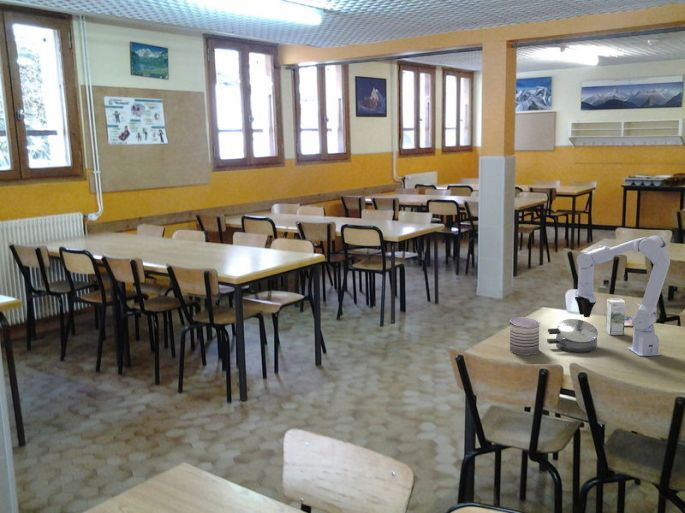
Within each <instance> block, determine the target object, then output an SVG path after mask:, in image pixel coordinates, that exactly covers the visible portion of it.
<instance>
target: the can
mask: <svg viewBox="0 0 685 513" xmlns="http://www.w3.org/2000/svg"><path fill="white" fill-rule="evenodd" d="M508 322H509V324H510V326H509V351H510V352H511V351H512V352H511V353H513V352H514V353H513V354H515V353H517V354H516V355H520V354H523V355H522V356H531V355H530V354H534V355H536V354H538V352H540V351H539V350H540V348H539V347H540V325H541V322H540V321H538V320H536V319H535V318H531V317H525V316H516V317H510V319H509V320H508ZM535 353H536V354H535Z"/></svg>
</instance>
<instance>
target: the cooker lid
mask: <svg viewBox="0 0 685 513" xmlns="http://www.w3.org/2000/svg"><path fill="white" fill-rule="evenodd" d="M547 332H548V334H549V335H557V334H560V335H561V336H562V337H564V338H565V339H567V340H570V341H573V342H578V343H588V342H592V341H594V340H595V339H596V338H597V339H598V336H599V335H598V334H599V332H598V330H597V327H595V326H594V325H593V324H592V323H590V322H587V321H586V320H581V319H577V318H567V319H563V320H561V321H559V322H558V323H557V326H556V327H555V328H547Z"/></svg>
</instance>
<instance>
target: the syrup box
mask: <svg viewBox="0 0 685 513" xmlns="http://www.w3.org/2000/svg"><path fill="white" fill-rule="evenodd" d="M625 315H626V301H625V300H624V299H623V298H607V300H606V315H605V316H606V317H605V318H606V319H605V320H606V321H605V332H606V333H607V334H608V335H609V336H624V335H625V327H624V322H625V317H626V316H625Z"/></svg>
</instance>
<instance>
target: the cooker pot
mask: <svg viewBox="0 0 685 513" xmlns="http://www.w3.org/2000/svg"><path fill="white" fill-rule="evenodd" d="M555 335H556V336H555V337H556V338H547V339H546V342H547V343H548V344H549V345H551V344H553V345H554V344H555V347H556V348H557V349H559V350H560V349H561V350H560V351H563V352H567V353H573V354H590V353H593V352H595V351H597V348H598V337H597V338H596V339H595V340H594V341H592V342H588V343H578V342H573V341H570V340H567V339H565V338H564V337H562V336H561V335H560V334H555Z"/></svg>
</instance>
